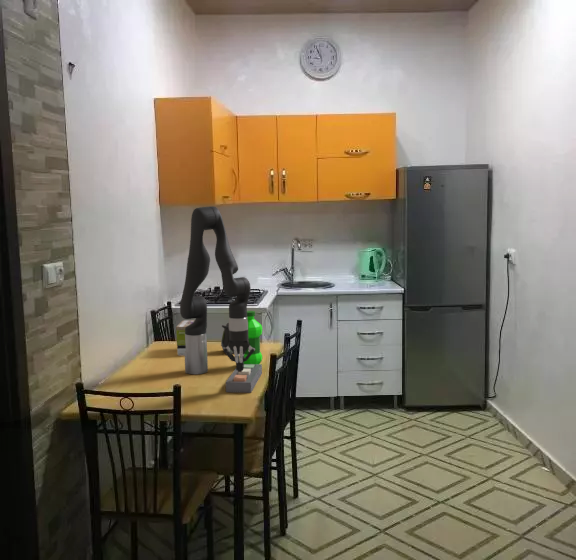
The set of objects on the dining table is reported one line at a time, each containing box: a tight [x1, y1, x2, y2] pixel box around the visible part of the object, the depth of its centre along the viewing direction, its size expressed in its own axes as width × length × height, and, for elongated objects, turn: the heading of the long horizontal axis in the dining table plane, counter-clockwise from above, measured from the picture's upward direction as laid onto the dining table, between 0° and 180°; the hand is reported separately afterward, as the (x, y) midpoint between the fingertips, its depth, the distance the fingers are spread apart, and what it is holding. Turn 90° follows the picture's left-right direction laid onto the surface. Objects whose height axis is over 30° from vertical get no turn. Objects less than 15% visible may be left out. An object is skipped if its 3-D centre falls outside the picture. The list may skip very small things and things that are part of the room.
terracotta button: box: [234, 375, 247, 382], centre depth 239 cm, size 4×4×3 cm
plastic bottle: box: [244, 310, 263, 364], centre depth 271 cm, size 10×10×25 cm
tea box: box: [175, 319, 195, 357], centre depth 300 cm, size 15×10×15 cm, turn 178°
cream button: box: [238, 369, 251, 375], centre depth 248 cm, size 4×4×3 cm
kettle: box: [220, 322, 234, 354], centre depth 297 cm, size 10×10×15 cm
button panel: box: [225, 363, 263, 394], centre depth 249 cm, size 10×26×4 cm, turn 173°
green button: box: [244, 365, 255, 369], centre depth 257 cm, size 4×4×3 cm
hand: (240, 371), depth 239 cm, fingers closed
